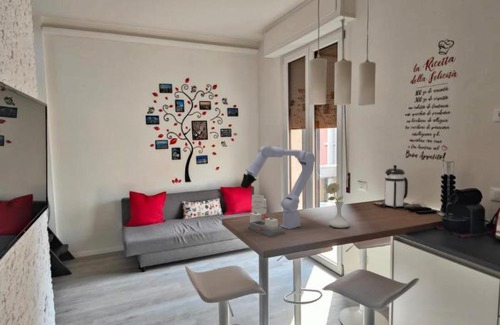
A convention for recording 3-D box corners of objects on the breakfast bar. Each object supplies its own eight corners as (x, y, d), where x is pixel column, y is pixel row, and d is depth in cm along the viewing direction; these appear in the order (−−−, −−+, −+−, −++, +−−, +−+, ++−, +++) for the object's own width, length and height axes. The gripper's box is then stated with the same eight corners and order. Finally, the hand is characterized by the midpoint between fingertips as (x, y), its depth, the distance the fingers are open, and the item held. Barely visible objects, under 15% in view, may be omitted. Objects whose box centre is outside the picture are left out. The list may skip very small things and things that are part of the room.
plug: (255, 222, 194) (255, 210, 193) (261, 224, 189) (261, 212, 189) (249, 223, 191) (249, 211, 191) (256, 225, 187) (256, 213, 186)
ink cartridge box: (267, 216, 206) (266, 194, 204) (264, 218, 201) (264, 195, 200) (254, 215, 209) (254, 193, 208) (251, 217, 204) (251, 194, 203)
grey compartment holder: (261, 225, 186) (261, 211, 185) (284, 233, 171) (284, 217, 170) (247, 228, 180) (247, 213, 179) (270, 237, 165) (270, 220, 164)
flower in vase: (348, 224, 187) (348, 181, 185) (350, 229, 176) (351, 184, 174) (324, 223, 190) (325, 181, 188) (326, 228, 178) (326, 184, 176)
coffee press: (407, 210, 220) (408, 166, 217) (382, 208, 226) (383, 165, 224) (407, 205, 235) (408, 164, 233) (383, 203, 242) (384, 163, 239)
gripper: (247, 162, 180) (234, 182, 178) (253, 161, 166) (239, 184, 164) (258, 168, 181) (245, 189, 179) (264, 168, 167) (251, 191, 165)
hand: (243, 187), depth 172 cm, fingers open, 7 cm apart
